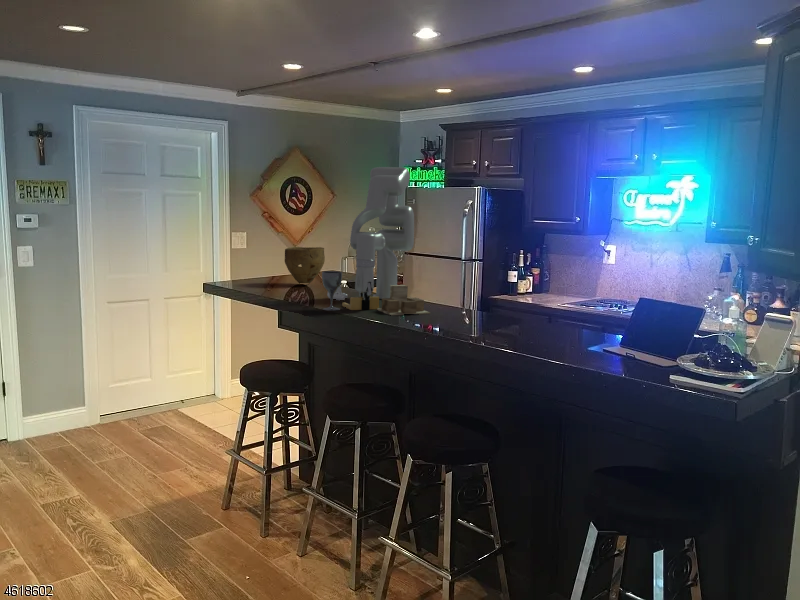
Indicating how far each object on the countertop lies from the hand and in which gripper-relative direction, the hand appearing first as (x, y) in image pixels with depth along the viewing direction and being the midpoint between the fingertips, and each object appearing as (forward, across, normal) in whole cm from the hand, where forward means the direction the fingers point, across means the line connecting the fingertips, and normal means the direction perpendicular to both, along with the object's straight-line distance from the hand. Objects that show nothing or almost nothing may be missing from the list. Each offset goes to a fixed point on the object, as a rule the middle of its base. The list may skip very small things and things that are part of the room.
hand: (364, 308), depth 264 cm
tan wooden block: (0, -5, 0) cm, 5 cm away
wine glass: (0, -3, -13) cm, 13 cm away
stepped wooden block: (0, +9, +13) cm, 16 cm away
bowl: (0, -83, -3) cm, 83 cm away
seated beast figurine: (0, -31, -2) cm, 31 cm away
